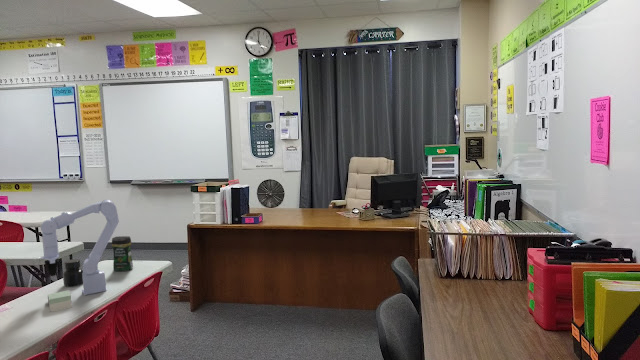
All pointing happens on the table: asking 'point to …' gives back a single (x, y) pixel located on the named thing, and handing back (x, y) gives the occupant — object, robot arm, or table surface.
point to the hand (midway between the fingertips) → (53, 275)
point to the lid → (59, 297)
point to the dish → (60, 305)
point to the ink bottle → (72, 273)
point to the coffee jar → (122, 253)
